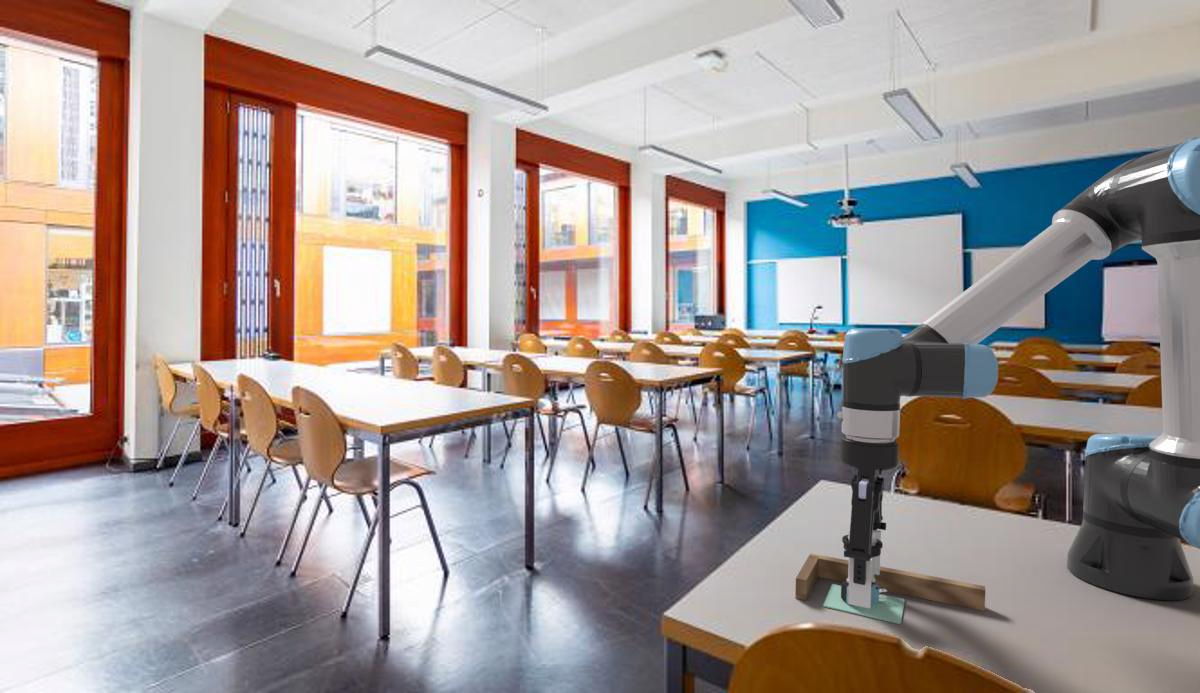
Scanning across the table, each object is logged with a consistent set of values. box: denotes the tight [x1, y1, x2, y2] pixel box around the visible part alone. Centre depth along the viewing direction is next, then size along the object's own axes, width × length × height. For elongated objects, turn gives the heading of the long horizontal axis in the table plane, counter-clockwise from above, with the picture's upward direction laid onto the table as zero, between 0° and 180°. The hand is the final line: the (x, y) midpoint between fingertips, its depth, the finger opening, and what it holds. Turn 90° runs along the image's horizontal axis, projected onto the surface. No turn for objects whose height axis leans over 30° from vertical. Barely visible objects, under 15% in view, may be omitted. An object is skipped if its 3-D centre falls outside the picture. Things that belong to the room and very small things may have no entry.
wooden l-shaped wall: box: [794, 553, 986, 612], centre depth 90 cm, size 24×11×3 cm, turn 61°
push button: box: [840, 531, 888, 606], centre depth 89 cm, size 7×5×10 cm
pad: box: [822, 583, 906, 625], centre depth 90 cm, size 10×8×1 cm
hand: (864, 587), depth 89 cm, fingers open, 12 cm apart
